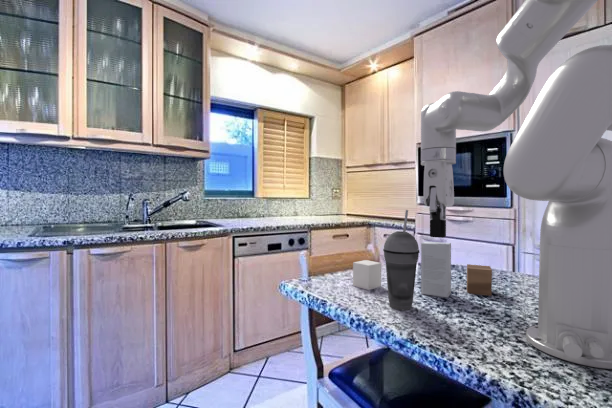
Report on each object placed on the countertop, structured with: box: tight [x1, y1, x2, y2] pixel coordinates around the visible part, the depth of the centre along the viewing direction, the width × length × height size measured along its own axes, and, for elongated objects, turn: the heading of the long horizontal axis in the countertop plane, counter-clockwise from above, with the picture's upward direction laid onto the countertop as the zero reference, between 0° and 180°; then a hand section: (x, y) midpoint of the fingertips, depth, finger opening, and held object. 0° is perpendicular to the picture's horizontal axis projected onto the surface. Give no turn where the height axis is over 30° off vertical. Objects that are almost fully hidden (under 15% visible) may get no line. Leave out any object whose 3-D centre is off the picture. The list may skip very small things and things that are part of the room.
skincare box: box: [420, 241, 452, 299], centre depth 77 cm, size 6×4×12 cm
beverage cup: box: [383, 209, 421, 311], centre depth 68 cm, size 7×7×20 cm
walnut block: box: [466, 264, 493, 297], centre depth 79 cm, size 5×5×6 cm
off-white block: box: [352, 259, 382, 291], centre depth 83 cm, size 5×5×6 cm
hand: (437, 236), depth 76 cm, fingers closed
